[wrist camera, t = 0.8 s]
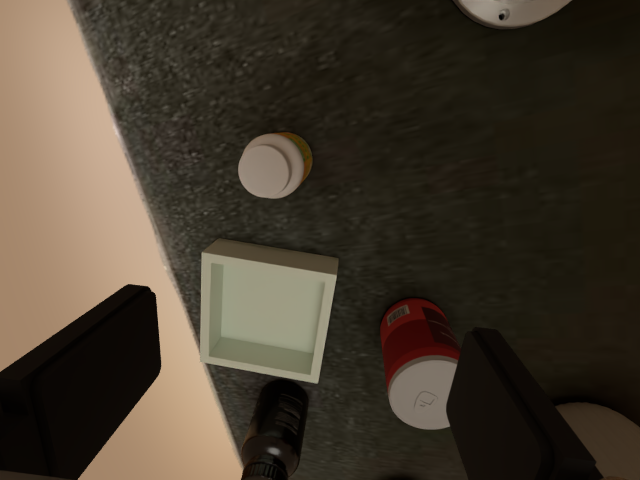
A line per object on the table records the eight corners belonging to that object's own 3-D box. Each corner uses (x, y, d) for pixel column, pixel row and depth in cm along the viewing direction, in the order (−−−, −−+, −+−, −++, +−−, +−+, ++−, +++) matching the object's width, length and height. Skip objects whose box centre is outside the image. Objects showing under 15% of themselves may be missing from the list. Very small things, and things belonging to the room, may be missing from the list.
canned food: (373, 345, 41) (379, 421, 30) (388, 289, 38) (401, 351, 27) (434, 358, 40) (462, 438, 30) (454, 302, 38) (492, 369, 27)
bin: (218, 237, 38) (201, 252, 33) (338, 258, 37) (336, 275, 33) (215, 338, 42) (200, 361, 38) (321, 357, 42) (317, 383, 38)
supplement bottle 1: (323, 152, 33) (312, 162, 24) (295, 195, 35) (275, 219, 26) (278, 121, 33) (250, 119, 24) (252, 166, 35) (216, 181, 25)
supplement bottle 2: (251, 387, 45) (216, 475, 33) (295, 372, 43) (274, 460, 32) (274, 423, 46) (249, 518, 35) (317, 410, 45) (305, 506, 34)
